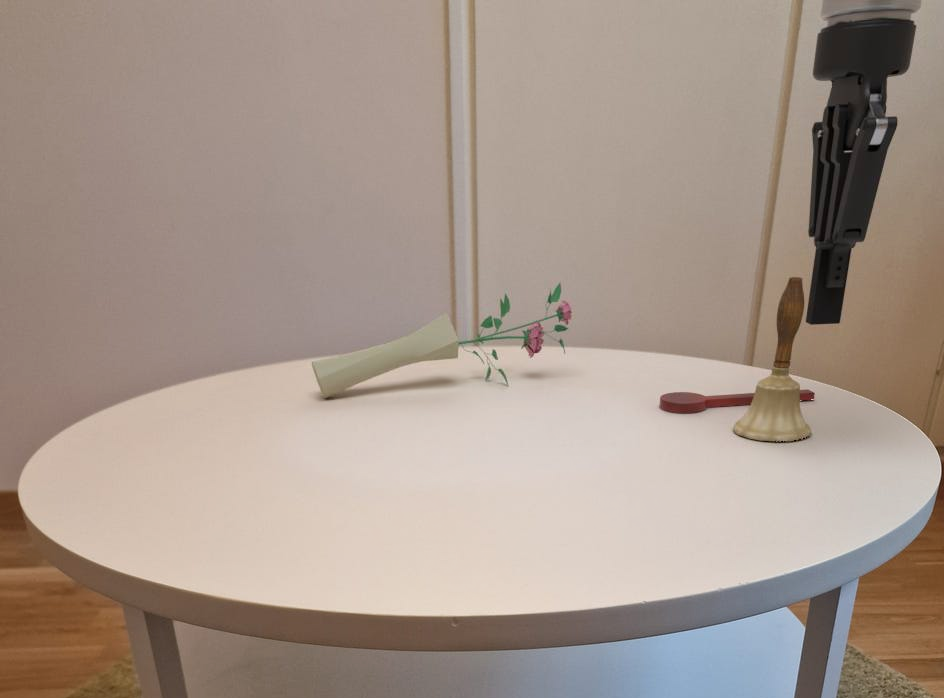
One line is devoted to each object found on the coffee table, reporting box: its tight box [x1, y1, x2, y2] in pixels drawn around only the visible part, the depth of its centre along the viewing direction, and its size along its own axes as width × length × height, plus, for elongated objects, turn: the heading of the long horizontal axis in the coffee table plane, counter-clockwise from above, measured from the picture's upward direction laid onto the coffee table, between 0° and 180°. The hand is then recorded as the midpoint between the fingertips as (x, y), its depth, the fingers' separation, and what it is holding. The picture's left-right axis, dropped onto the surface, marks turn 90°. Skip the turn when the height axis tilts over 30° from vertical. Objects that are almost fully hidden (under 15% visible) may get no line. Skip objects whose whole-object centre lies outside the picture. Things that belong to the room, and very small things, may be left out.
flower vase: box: [311, 282, 573, 400], centre depth 119 cm, size 12×12×35 cm
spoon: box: [659, 389, 816, 414], centre depth 108 cm, size 19×6×1 cm, turn 98°
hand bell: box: [732, 276, 812, 443], centre depth 94 cm, size 8×8×16 cm
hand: (822, 322), depth 84 cm, fingers closed
